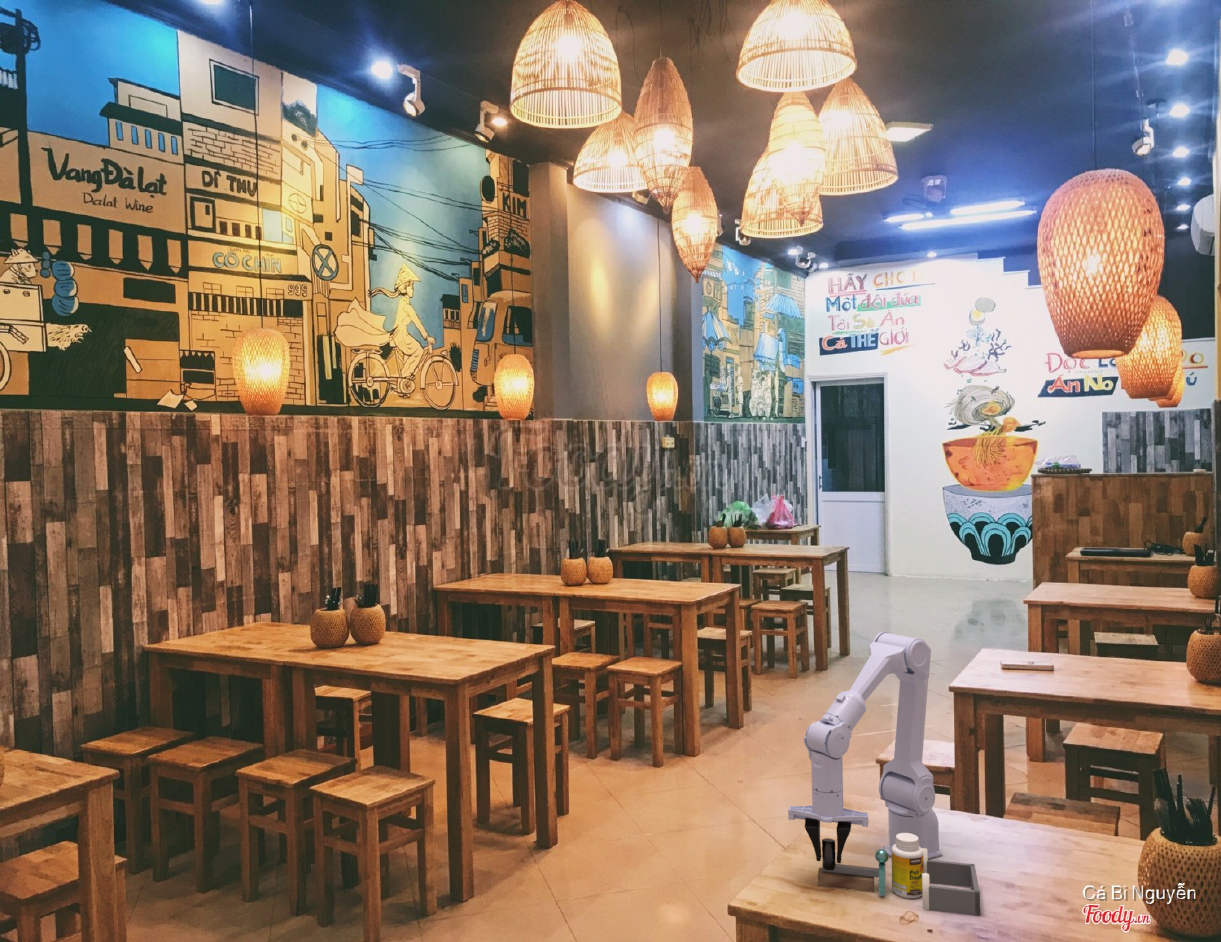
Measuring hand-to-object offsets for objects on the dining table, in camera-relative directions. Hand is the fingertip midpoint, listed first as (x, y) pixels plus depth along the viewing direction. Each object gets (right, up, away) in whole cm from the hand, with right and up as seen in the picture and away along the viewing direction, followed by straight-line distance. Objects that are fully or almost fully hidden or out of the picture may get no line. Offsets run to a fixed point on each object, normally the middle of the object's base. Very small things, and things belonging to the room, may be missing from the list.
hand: (829, 860), depth 170 cm
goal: (+20, -4, -6) cm, 21 cm away
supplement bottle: (+13, -4, -4) cm, 15 cm away
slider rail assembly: (+5, -4, -1) cm, 6 cm away
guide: (+3, -4, -1) cm, 5 cm away
